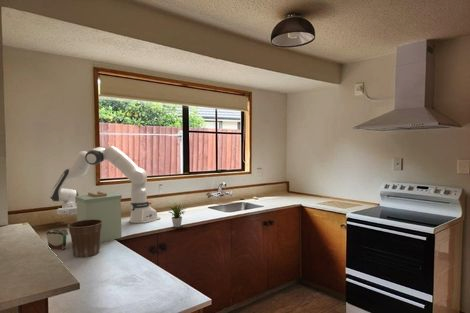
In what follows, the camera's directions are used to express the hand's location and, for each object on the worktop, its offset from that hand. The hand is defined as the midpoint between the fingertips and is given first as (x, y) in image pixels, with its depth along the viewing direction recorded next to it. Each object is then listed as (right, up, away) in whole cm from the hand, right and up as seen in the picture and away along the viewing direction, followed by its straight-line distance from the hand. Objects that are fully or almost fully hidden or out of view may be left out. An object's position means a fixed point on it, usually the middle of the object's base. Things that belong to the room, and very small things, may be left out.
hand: (76, 211), depth 215 cm
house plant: (+71, -10, -3) cm, 72 cm away
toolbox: (+29, -11, -29) cm, 42 cm away
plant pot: (+33, -12, -55) cm, 65 cm away
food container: (+14, -12, -46) cm, 49 cm away
